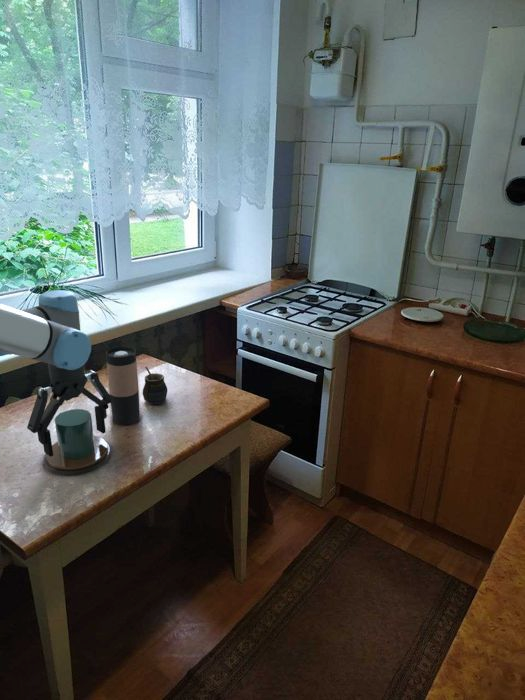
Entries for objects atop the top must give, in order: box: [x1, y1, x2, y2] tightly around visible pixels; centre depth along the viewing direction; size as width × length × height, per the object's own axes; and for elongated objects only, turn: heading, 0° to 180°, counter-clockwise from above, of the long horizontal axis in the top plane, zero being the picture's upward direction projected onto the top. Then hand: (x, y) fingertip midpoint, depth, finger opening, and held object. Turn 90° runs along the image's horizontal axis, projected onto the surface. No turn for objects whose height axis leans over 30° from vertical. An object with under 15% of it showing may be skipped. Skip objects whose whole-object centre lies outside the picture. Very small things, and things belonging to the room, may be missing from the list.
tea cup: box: [45, 408, 109, 470], centre depth 117 cm, size 14×14×10 cm
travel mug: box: [105, 346, 140, 426], centre depth 133 cm, size 8×8×20 cm
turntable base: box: [43, 441, 111, 476], centre depth 119 cm, size 15×15×1 cm
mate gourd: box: [142, 366, 168, 406], centre depth 145 cm, size 7×8×10 cm
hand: (76, 442), depth 118 cm, fingers open, 13 cm apart
